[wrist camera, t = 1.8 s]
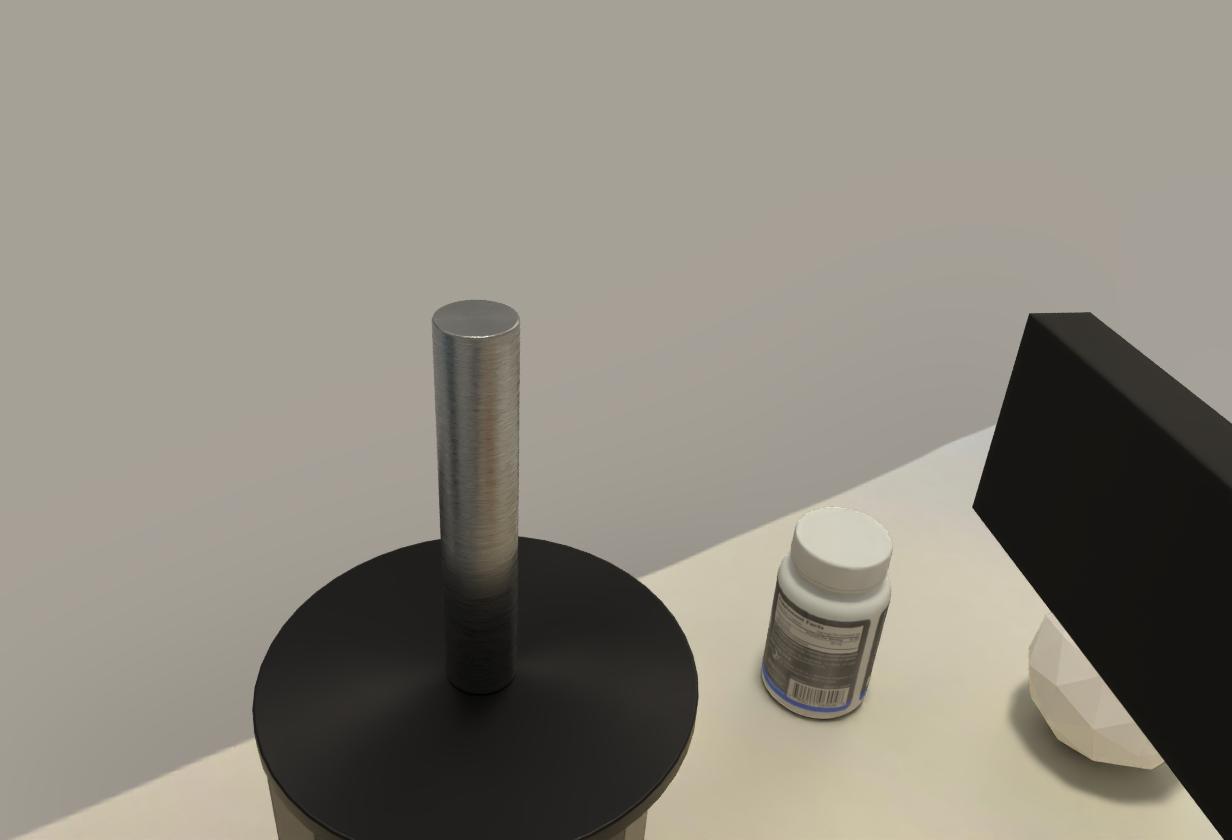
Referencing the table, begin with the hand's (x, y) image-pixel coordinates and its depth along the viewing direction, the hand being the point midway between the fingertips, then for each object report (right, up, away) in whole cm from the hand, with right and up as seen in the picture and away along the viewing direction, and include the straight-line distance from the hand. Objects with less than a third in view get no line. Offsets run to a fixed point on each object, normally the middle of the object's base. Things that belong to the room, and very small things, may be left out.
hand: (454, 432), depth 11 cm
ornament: (+23, -14, +33) cm, 42 cm away
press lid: (-2, -7, +15) cm, 17 cm away
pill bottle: (+11, -12, +35) cm, 38 cm away
